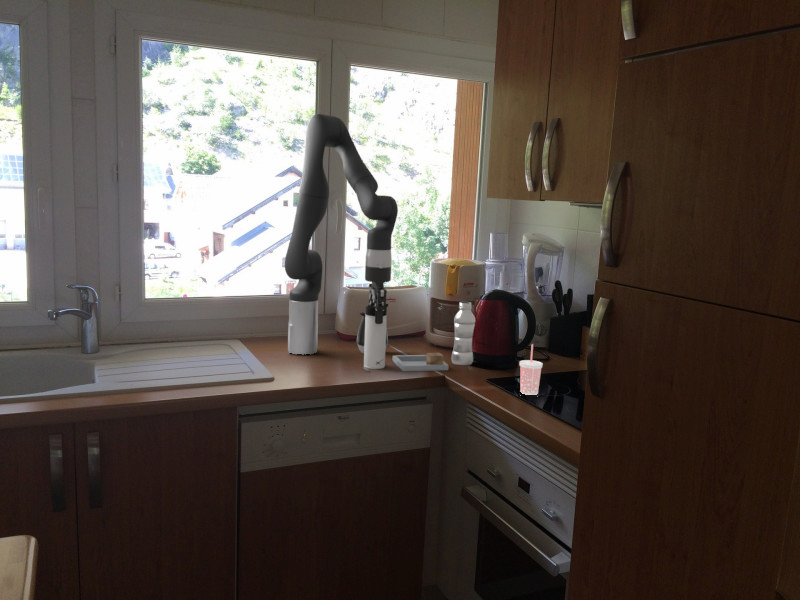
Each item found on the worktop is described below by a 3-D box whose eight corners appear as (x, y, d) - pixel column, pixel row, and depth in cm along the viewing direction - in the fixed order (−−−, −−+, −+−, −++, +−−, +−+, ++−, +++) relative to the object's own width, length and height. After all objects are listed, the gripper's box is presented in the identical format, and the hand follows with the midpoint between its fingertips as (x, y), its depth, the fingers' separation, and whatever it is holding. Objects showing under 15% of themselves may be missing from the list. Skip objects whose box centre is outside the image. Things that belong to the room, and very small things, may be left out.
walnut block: (429, 369, 199) (430, 356, 198) (426, 365, 203) (426, 352, 202) (442, 368, 200) (443, 355, 199) (438, 365, 204) (439, 352, 203)
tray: (402, 374, 196) (402, 366, 195) (392, 363, 208) (392, 355, 208) (448, 373, 199) (448, 365, 199) (435, 362, 211) (436, 354, 211)
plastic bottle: (452, 362, 212) (455, 300, 209) (473, 364, 211) (477, 301, 208) (449, 367, 206) (453, 303, 203) (471, 369, 205) (475, 304, 201)
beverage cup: (537, 392, 183) (541, 342, 180) (542, 399, 177) (546, 347, 174) (515, 391, 182) (518, 341, 180) (519, 398, 176) (523, 346, 174)
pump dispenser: (349, 352, 220) (350, 307, 218) (373, 349, 227) (375, 304, 225) (369, 359, 212) (370, 311, 210) (393, 355, 219) (395, 309, 217)
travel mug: (383, 373, 196) (385, 305, 193) (361, 371, 197) (363, 304, 194) (387, 368, 202) (390, 302, 199) (366, 366, 203) (368, 301, 200)
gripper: (361, 262, 201) (359, 317, 204) (370, 267, 187) (368, 326, 190) (385, 262, 203) (383, 317, 205) (396, 267, 189) (394, 326, 192)
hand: (376, 321), depth 198 cm, fingers closed on travel mug, 6 cm apart
